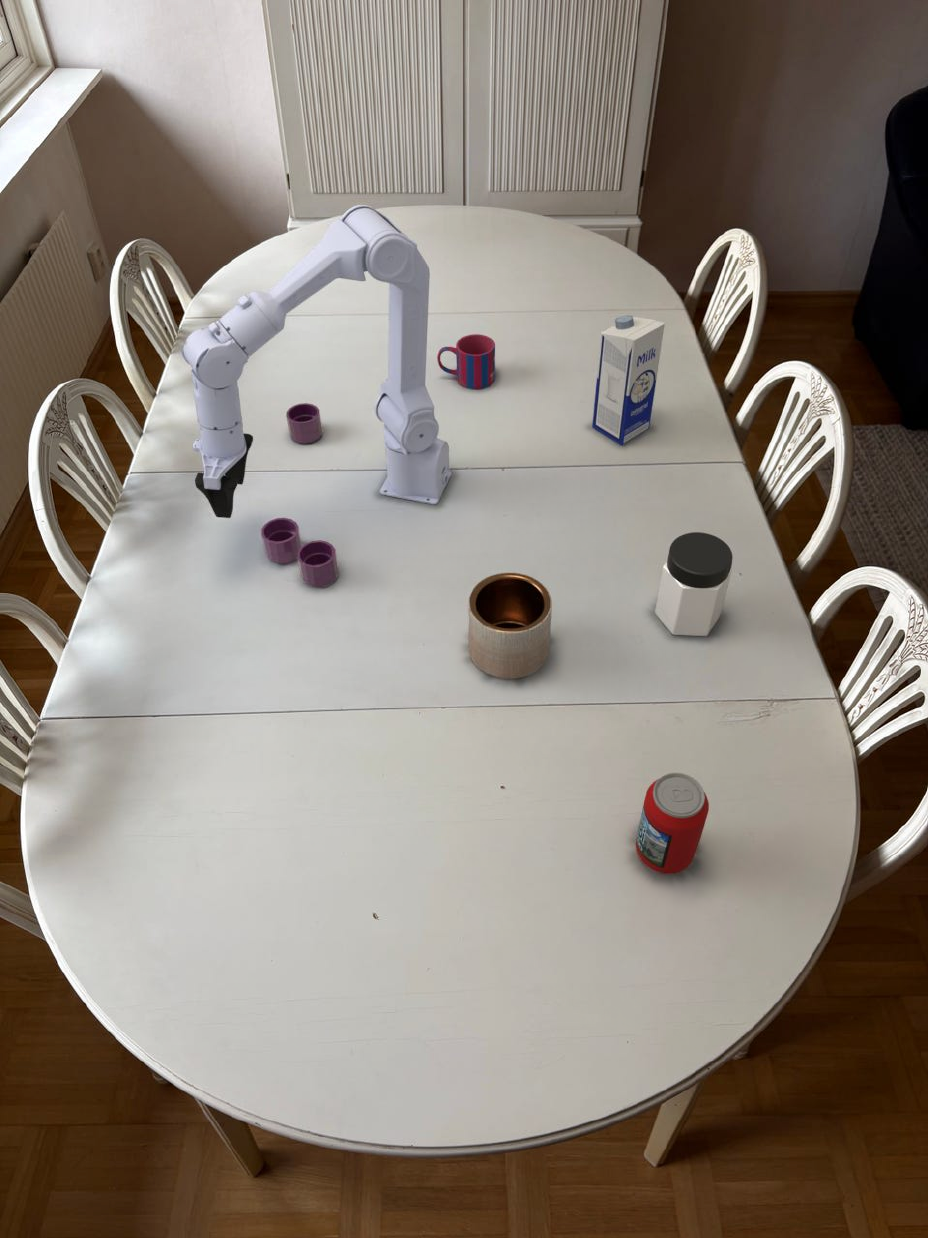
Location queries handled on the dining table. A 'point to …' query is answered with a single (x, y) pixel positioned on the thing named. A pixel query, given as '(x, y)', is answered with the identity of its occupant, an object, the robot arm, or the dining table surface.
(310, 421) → the dish
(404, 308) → the robot arm
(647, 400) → the milk carton
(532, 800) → the dining table surface
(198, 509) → the dining table surface
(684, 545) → the jar
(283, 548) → the dish
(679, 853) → the beverage can
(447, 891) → the dining table surface
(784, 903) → the dining table surface
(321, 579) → the purple small cup
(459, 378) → the mug
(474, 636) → the planter
